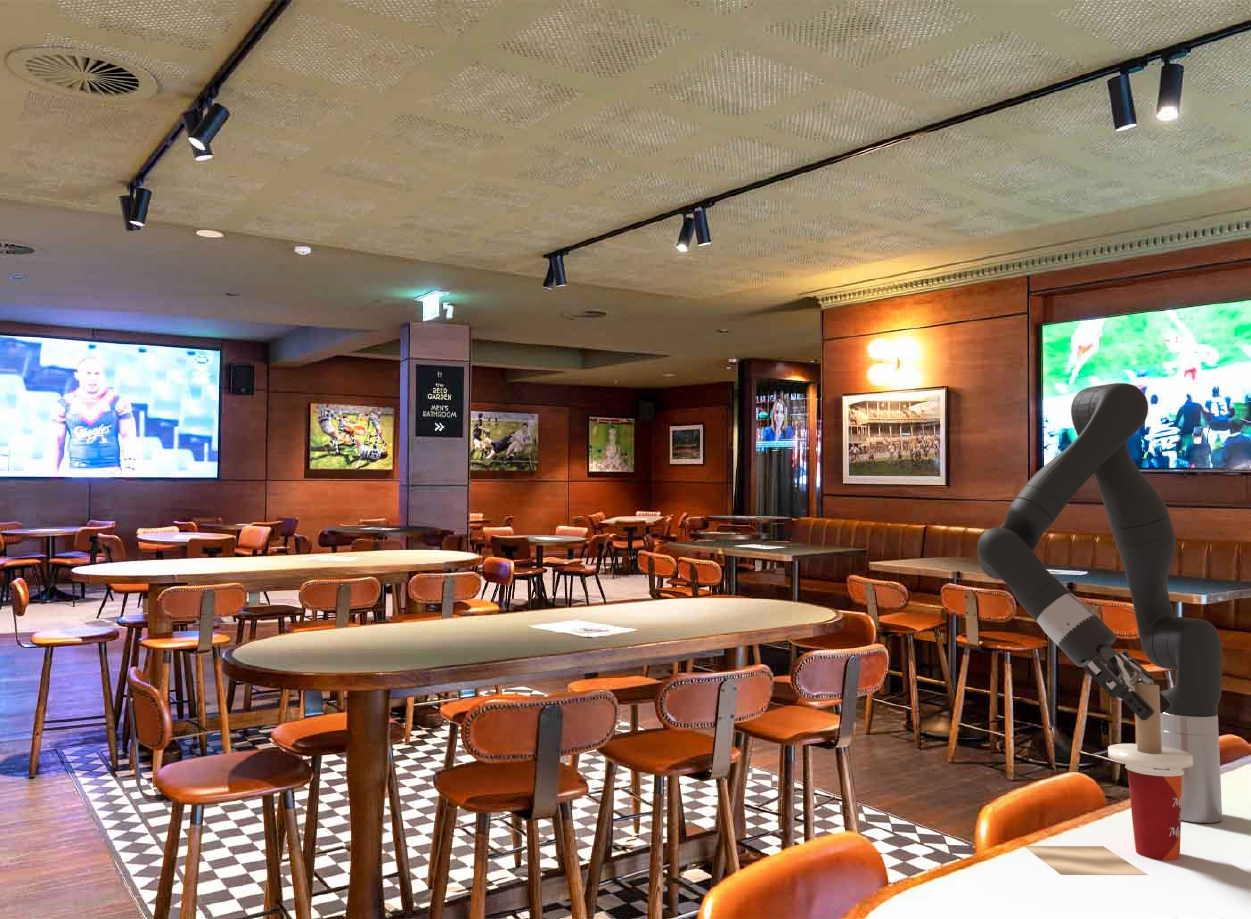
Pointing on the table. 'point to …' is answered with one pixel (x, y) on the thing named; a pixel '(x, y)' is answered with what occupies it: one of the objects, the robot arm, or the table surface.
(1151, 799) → the paper cup
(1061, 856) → the cork mat
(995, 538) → the robot arm
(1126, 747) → the beige peg stand
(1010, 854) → the table surface
